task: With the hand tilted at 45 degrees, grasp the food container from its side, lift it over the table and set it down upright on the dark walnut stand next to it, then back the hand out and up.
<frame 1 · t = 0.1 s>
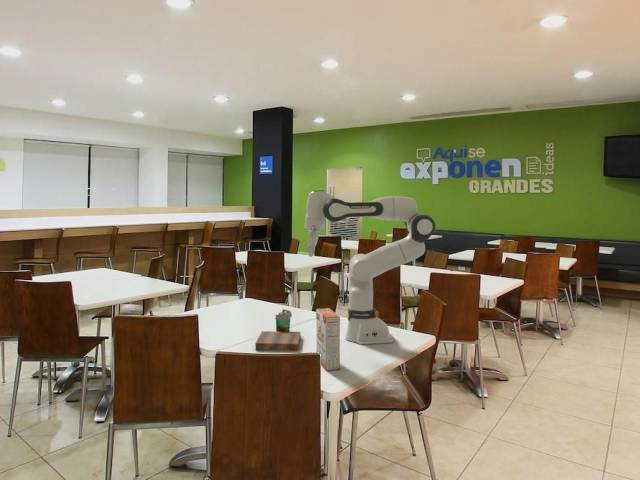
hand: (311, 255, 214), 39 cm above the table, tool pointing down, fingers open, 8 cm apart
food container: (285, 332, 225), on the table
cracker box: (327, 364, 182), on the table
walnut stand: (278, 343, 207), on the table
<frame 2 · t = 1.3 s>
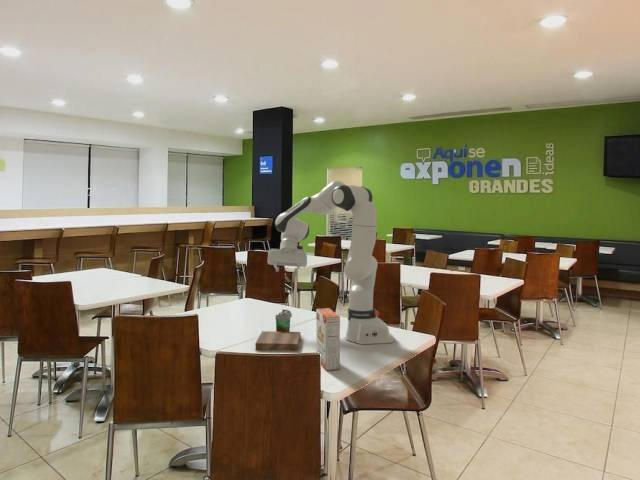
hand: (286, 271, 233), 28 cm above the table, tool tilted 45°, fingers open, 8 cm apart
nothing on the table moved.
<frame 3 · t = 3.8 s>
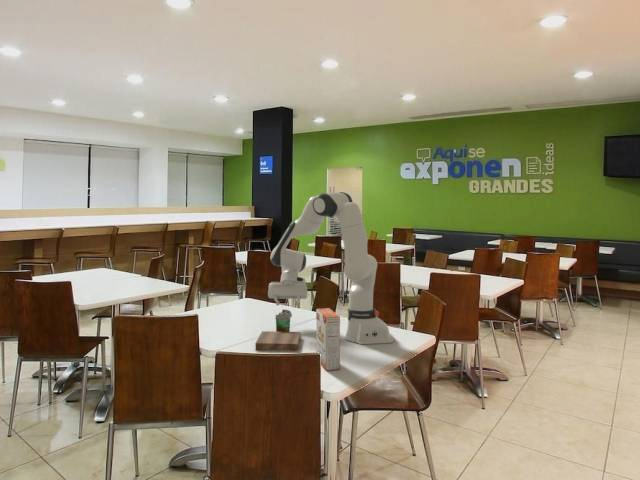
hand: (286, 304, 232), 12 cm above the table, tool tilted 45°, fingers open, 8 cm apart
nothing on the table moved.
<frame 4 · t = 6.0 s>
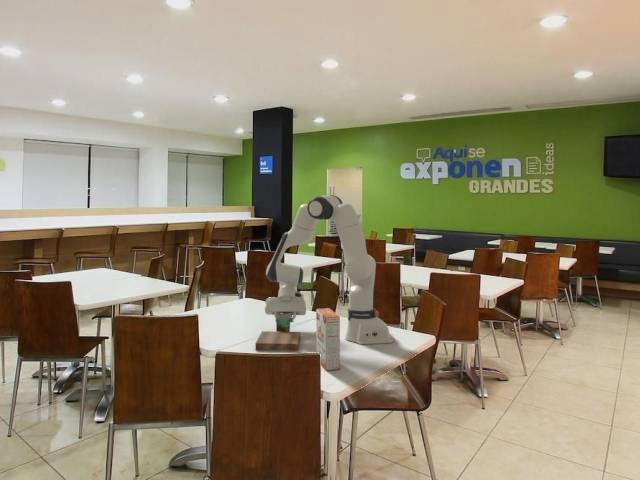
hand: (284, 321, 224), 6 cm above the table, tool tilted 45°, fingers open, 6 cm apart
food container: (285, 332, 225), on the table, touching gripper
everything else where it was.
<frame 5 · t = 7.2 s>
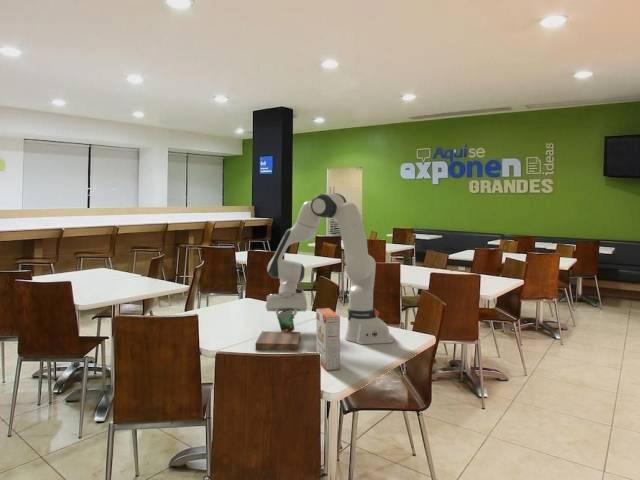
hand: (285, 318, 224), 7 cm above the table, tool tilted 45°, fingers closed on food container, 5 cm apart
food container: (290, 330, 225), point 1 cm above the table, touching gripper
everything else where it was.
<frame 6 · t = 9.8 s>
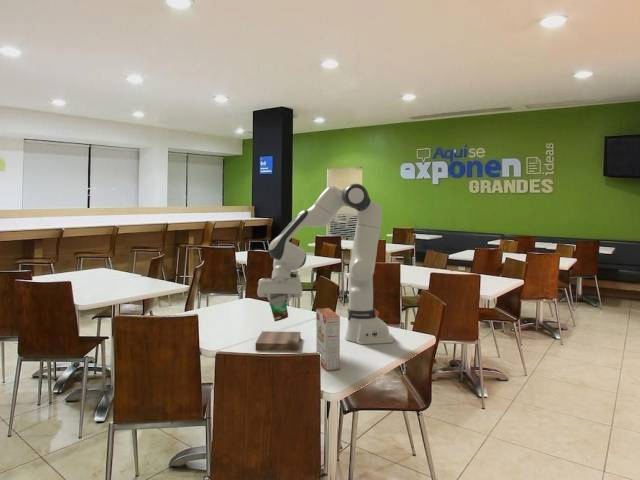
hand: (278, 304, 205), 18 cm above the table, tool tilted 45°, fingers closed on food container, 5 cm apart
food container: (284, 318, 206), point 12 cm above the table, touching gripper
everything else where it was.
when the fingers open (10 cm above the table, at t = 12.1 s): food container moves 1 cm, resting on walnut stand.
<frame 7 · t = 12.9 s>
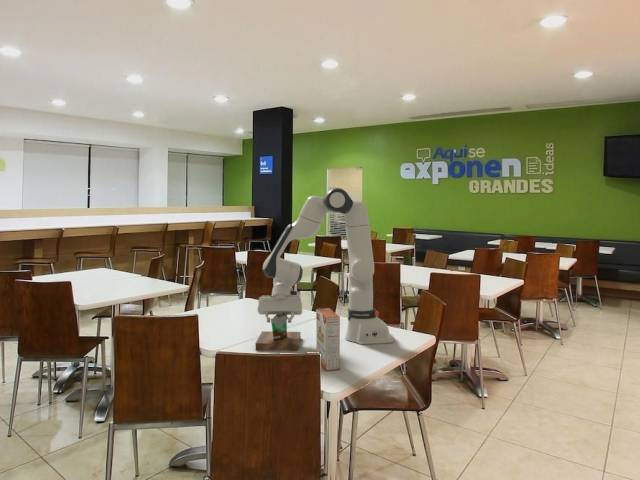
hand: (279, 322, 206), 10 cm above the table, tool tilted 45°, fingers open, 8 cm apart
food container: (282, 337, 207), point 3 cm above the table, touching walnut stand
everything else where it was.
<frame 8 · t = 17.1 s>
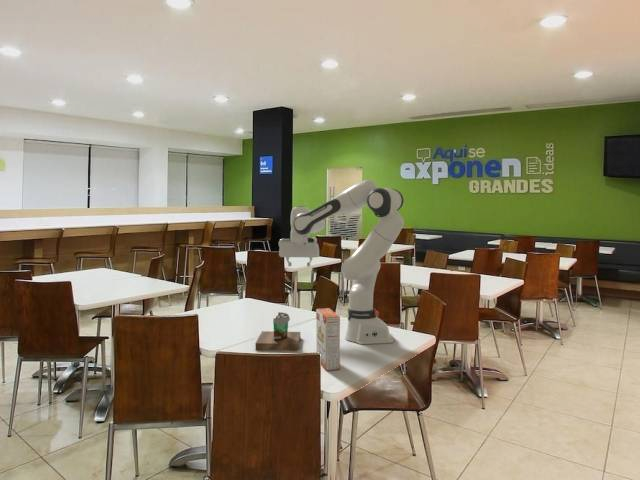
hand: (299, 266, 232), 31 cm above the table, tool pointing down, fingers open, 8 cm apart
at the end: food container inside the target area on the walnut stand (1.8 cm from its centre), point 2.8 cm above the walnut stand's base; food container tilted 0°; the gripper is holding nothing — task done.
